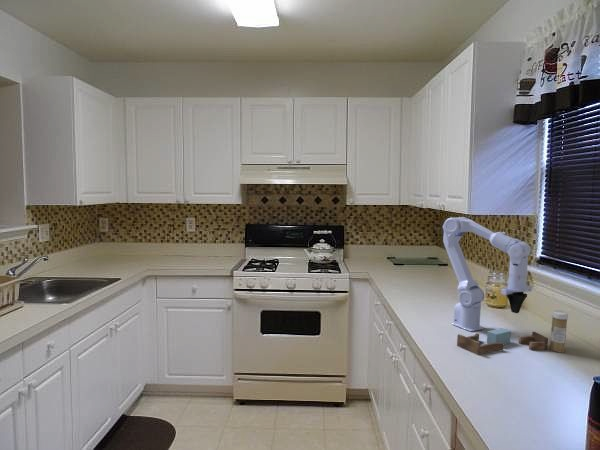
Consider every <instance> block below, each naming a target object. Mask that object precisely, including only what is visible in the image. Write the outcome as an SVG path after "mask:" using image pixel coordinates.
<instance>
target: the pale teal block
mask: <svg viewBox="0 0 600 450" xmlns="http://www.w3.org/2000/svg"><path fill="white" fill-rule="evenodd" d="M486 333H487V334H486V344H488V343H493V342H502V343H503V344H504V345H508V344H511V336H512V334H511V333H512V330H509V329H506V328H504V327H502V328H496V329H492V330H487V332H486ZM507 343H508V344H507Z"/></svg>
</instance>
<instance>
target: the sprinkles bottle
mask: <svg viewBox="0 0 600 450" xmlns="http://www.w3.org/2000/svg"><path fill="white" fill-rule="evenodd" d="M551 316H552V317H551V318H552V319H551V329H550V330H551V331H550V342H549V343H550V344H549V345H550V346H549V349H550V350H551V351H554V352H556V353H564V352H565V351H566V349H565V347H566V340H567V339H566V337H567V323H568V319H569V313H568V312H566V311H563V310H552V313H551Z"/></svg>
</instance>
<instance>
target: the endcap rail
mask: <svg viewBox="0 0 600 450" xmlns="http://www.w3.org/2000/svg"><path fill="white" fill-rule="evenodd" d="M456 342H457V343H456V347H458V348H461V349H463V350H465V351H468V352H470V353H473V354H475V355H477V356H478V355H482V354H485V353H490V352H491V353H492V352H495V351H496V352H498V351H499V350H504V345H503V343H502V342H493V343H488V344H487V343H485V344H481V341H480V333H477V332H476V333H475V334H473V335H469V336H465V335H463V334H459V333H458V334H457V340H456ZM494 350H495V351H494ZM497 350H498V351H497Z"/></svg>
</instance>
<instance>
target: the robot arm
mask: <svg viewBox="0 0 600 450" xmlns="http://www.w3.org/2000/svg"><path fill="white" fill-rule="evenodd" d="M442 230H443V237H442V238H443V240H442V242H443V245H444V248H445V250H446V253H447V256H448V258H449V261H450V264H451V266H452V268H453V270H454V271H453V272H454V274H455V276H456V279H457V282H458V286H457V288H456V290H457V292H458V301H459V302H458V303H456V304H455V306H454V307H453V308H454V309H453V321H452V323H451V324H452V325H453V326H455V327H458V328H461V329H463V330H466V331H469V332H477V331H480V330H485V327H483V326H482V325H480V324H481V323H480V322H481V309H482V304H481V303H482V302H483V301H484V300H485V292H484V290H483V289H482V288H481V287H480V286H479V284H478V282H477V281H476V280H475V279H474V278H473V276H472V274H471V271H470V269H469V266H468V264H467V261H466V258H465V256H464V253H463V250H462V248H461V245H460V243H459V242H460V240H461V238H462V237H463V235H465V234H466V232H467V233H468V232H469V233H470V232H471V233H473V234H475V235H476V236H479V237H482V238H483V239H486V240H487V241H489V243H490V245H491V246H492V247H494V248H497V249H499V250H500V251H502V252H504V253H506V254H508V256H509V269H508V282H507V286H505V287H503V288H501V289H500V295H503V296H506V297H507V300H508V302H509V307H510V310H511V313H512V314H513V313H514V314H519V313H520V311H521V309H522V305H523V303H524V301H525V299H526V298H527V297H528V294H527V293H529V292H532V291H533V286H532V285H527V277H528V267H529V266H528V265H529V264H528V261H529V256H530V255H531V254H532V248H531V246H530V244H528V243H527V242H526V241H519V239H518V238H513V237H511V236H510V235H507V232H505V231H502V232H501V231H497V232H494V231H492V230H490V229H488V228H487V227H485V226H483V225H481V224H479V223H477V222H476V221H474V220H472V219H470V218H467V217H465V216H458V217H449V218H447V219H445V221H444V222H443V225H442Z"/></svg>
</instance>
